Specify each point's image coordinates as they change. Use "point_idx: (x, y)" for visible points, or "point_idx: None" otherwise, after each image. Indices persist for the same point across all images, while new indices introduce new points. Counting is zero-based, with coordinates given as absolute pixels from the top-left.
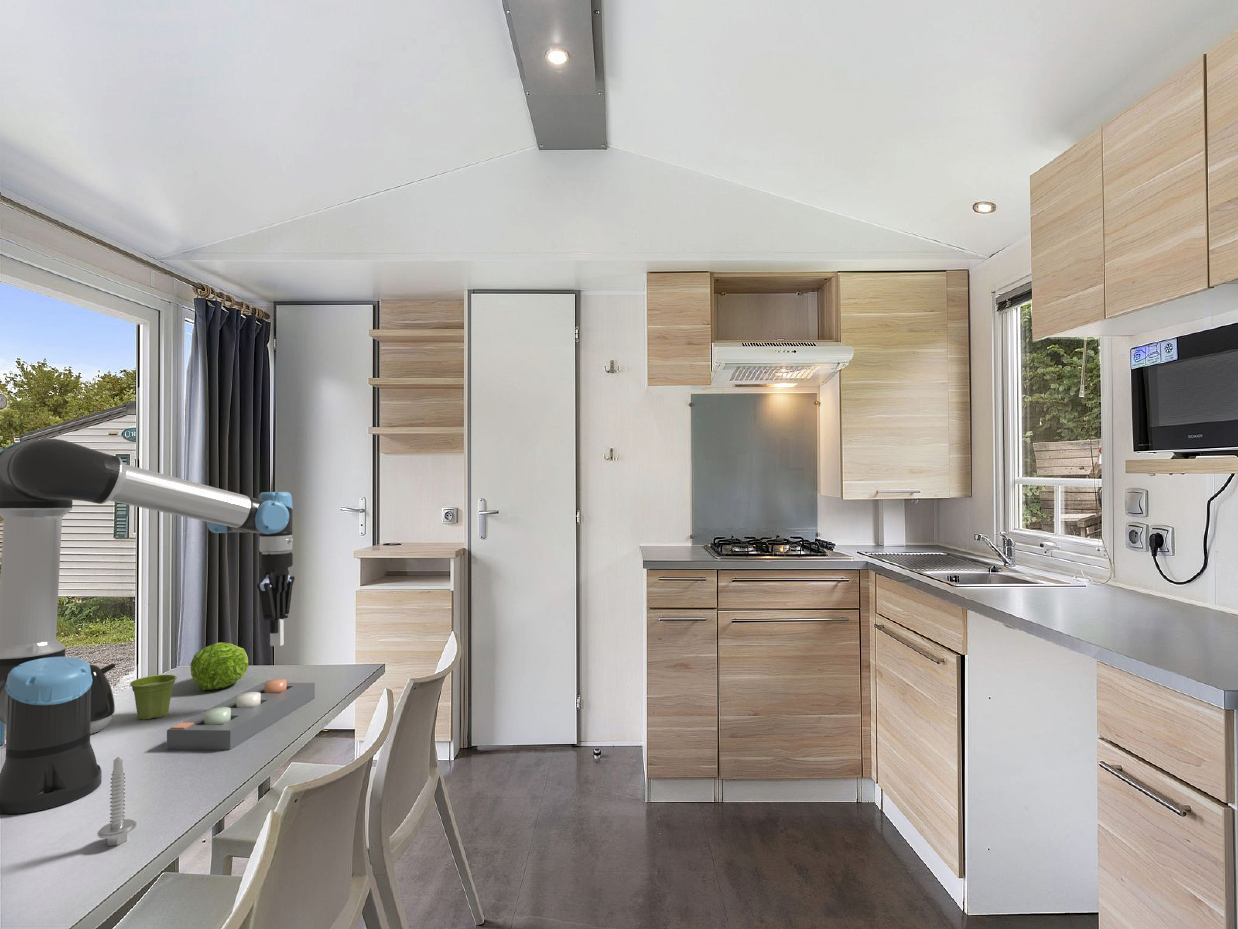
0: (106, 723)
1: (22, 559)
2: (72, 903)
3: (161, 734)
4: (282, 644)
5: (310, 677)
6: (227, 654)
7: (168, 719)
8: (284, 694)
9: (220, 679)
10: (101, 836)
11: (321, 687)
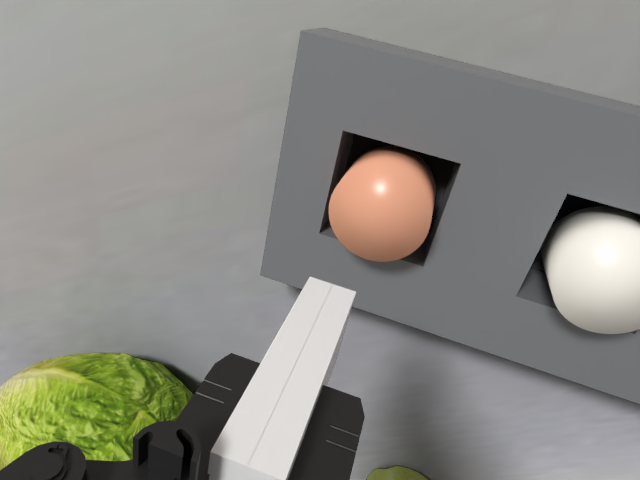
0: None
1: None
2: None
3: (616, 456)
4: (325, 285)
5: (43, 136)
6: (115, 459)
7: (451, 457)
8: (491, 136)
9: None
10: None
11: (165, 47)
